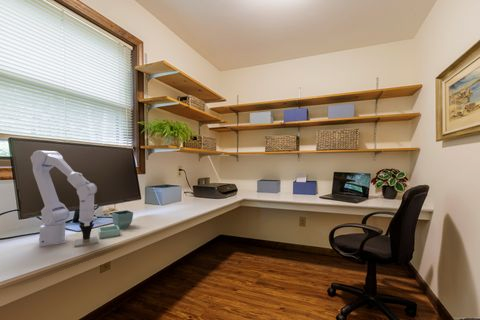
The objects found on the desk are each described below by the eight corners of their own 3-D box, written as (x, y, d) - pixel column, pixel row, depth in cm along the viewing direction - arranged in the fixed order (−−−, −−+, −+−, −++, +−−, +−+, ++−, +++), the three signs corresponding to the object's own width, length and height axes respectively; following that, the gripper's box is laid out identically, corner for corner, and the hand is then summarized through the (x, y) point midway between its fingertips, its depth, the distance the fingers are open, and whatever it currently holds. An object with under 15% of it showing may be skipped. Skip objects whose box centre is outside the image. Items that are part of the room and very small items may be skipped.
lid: (74, 247, 101) (74, 234, 101) (74, 241, 109) (74, 229, 109) (97, 243, 106) (98, 231, 106) (96, 237, 114) (97, 226, 114)
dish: (99, 239, 113) (99, 232, 113) (98, 234, 120) (98, 227, 120) (119, 236, 118) (119, 229, 118) (117, 231, 125) (117, 225, 125)
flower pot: (126, 224, 139) (127, 209, 139) (133, 227, 133) (133, 212, 133) (111, 227, 132) (111, 212, 132) (117, 230, 126) (118, 214, 126)
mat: (72, 248, 101) (72, 247, 101) (73, 241, 109) (73, 241, 109) (99, 244, 106) (99, 243, 106) (97, 237, 114) (97, 237, 114)
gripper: (97, 211, 104) (97, 240, 104) (95, 205, 116) (95, 231, 116) (78, 212, 100) (78, 243, 100) (79, 206, 112) (78, 234, 112)
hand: (86, 237), depth 108 cm, fingers open, 5 cm apart
